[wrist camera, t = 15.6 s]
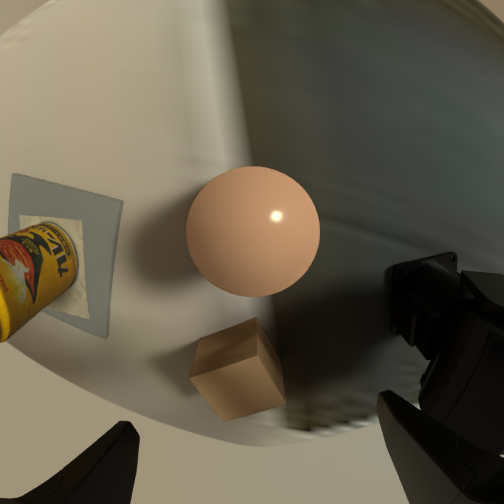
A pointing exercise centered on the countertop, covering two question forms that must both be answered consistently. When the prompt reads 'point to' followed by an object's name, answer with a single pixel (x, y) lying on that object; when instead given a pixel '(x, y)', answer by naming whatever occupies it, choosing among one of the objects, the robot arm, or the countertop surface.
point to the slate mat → (94, 238)
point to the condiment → (41, 271)
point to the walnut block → (238, 371)
